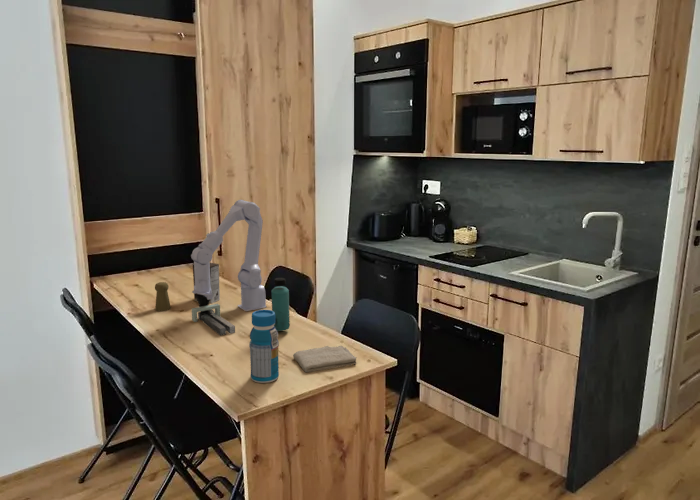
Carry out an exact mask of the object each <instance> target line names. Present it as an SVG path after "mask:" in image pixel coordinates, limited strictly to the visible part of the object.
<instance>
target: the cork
mask: <svg viewBox="0 0 700 500" xmlns="http://www.w3.org/2000/svg"><path fill="white" fill-rule="evenodd" d="M154 290H155V291H156V294H155V295H156V296H155V297H156V299H155V308H154V310H155V311H156V312H167V311H170V310H171V309H172V308H171V301H170V296H169V292H168V290H169V284H168V282H166V281H165V282H164V281H162V282H161V281H160V282H157V283H156V284H155V285H154Z"/></svg>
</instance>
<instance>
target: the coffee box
mask: <svg viewBox="0 0 700 500" xmlns="http://www.w3.org/2000/svg"><path fill="white" fill-rule="evenodd" d="M209 263H210V285H211V292H212V294H213V299H210V301H209V304H215V303H216V302H217V301H220V300H221V299H220V298H221V297H220V295H221V294H220V264H219V263H215V262H209ZM192 274H193V275H192V276H193V287H194V286H195V274H194V263H193V264H192ZM193 295H194V296H193V298H194V301H195V302H198V301H197V299H196V298H195V295H198V294H197V293H195V294H194V293H193Z"/></svg>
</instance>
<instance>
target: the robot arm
mask: <svg viewBox="0 0 700 500" xmlns="http://www.w3.org/2000/svg"><path fill="white" fill-rule="evenodd" d="M263 220H264V219H263V218H262V215H261V207H260V206H258V205H257V203H256V202H253V201H247V200H244V199H238V200H236V201H235V202H234V204H233V205H232V206H231V207H230V209H229V211H228V213H227V214H226V216H224V218H223V220H222V221H221V222H220V225H218V227H217V228H216V230H214V231H213V230H212V231H210V232H209V233H207V234H206V235H205V236H206V237H205V238H204V240H203V241H202V242H201V243H199V244H198V246H197V247H195V248H194V249H193V250H192V253H191V254H190V257H191V260H193V264H194V274H195V286H194V285H193V290H192V292H191V293H192V294H193V295H194V294H195V293H197V294H198V295H195V298H196V299H197V301H196V302H197V303H198V307H202V306H208V305H210V303H209V301H210V299H213V294H212V292H211V285H210V263H211V262H212V260H213V254H214V253H215V252H216V250H217V249H218V248H219V246H220V245H221V244H222V243H223V241H224V238H223V237H224V236H225V235H226V233H227V232H228V231H229V230H230V229H231V228H232V227H233V225H235V224H236V222H239V221H245V222H246V223H247V224H248V227H247V228H248V229H247V236H246V244H245V245H246V247H245V253H244V262H243V263H242V265H241V266H240V270H239V272H238V274H237V280H238V282H239V283H240V297H241V299H240V301H241V302H240V303H241V304H238V305H237V307H239V308H240V310H243V311H245V312H249V311H254V310H255V311H256V310H261V309H264V308H267V305H266V304H267V301H266V300H267V299H266V298H267V297H266V289H265V286H264V285H263V284H261V283H262V282H263V281H262V280H263V279H262V274H261V273H262V270H261V268H260V266H259V256H260V249H261V240H262V231H263V224H264V223H263ZM206 311H207V310H206ZM200 312H203V311H200Z"/></svg>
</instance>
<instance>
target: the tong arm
mask: <svg viewBox="0 0 700 500" xmlns="http://www.w3.org/2000/svg"><path fill="white" fill-rule="evenodd" d="M207 311H208V312H210V313H209V316H210V317H211V318H213V319H214V320H215V321H217V322H218V323H220V324H221V325H222V326H224V327H225V328H226V333H228V334H234V333H236V325H235V324H233V323H232V322H230V321H228V320H227V319H225V318H224V317H222V316H221V315H220V316H219V315H217V314H216V313H215V310H214V309H211V310H207Z"/></svg>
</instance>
